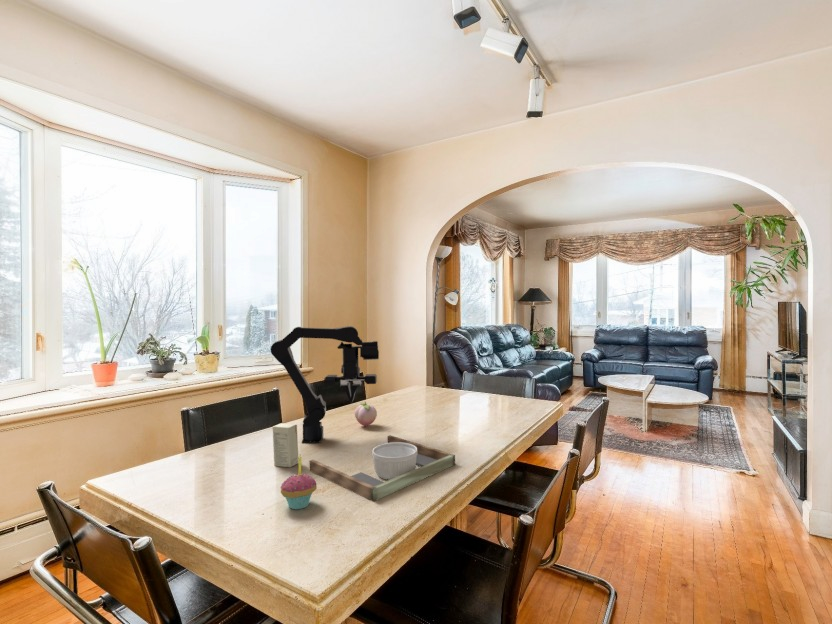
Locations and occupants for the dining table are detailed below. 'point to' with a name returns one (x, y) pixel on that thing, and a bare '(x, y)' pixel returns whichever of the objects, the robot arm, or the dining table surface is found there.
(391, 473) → the ramekin
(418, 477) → the wooden u-shaped frame
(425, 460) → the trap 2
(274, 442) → the skincare box
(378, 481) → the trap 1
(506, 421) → the dining table surface
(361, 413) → the decorative fruit
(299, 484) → the cupcake
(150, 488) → the dining table surface
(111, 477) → the dining table surface
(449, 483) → the dining table surface
